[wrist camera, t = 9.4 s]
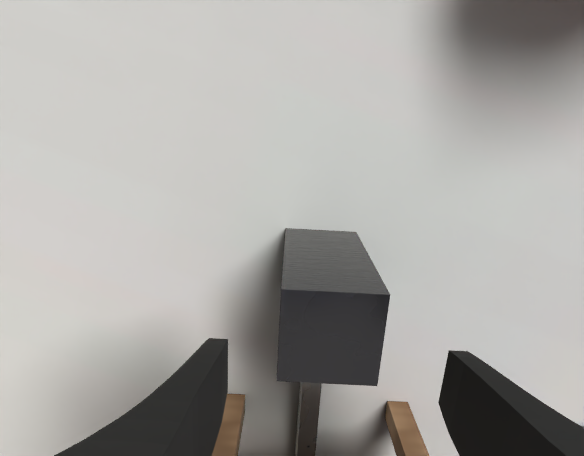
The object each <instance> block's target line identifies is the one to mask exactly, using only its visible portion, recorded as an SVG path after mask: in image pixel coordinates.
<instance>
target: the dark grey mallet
mask: <svg viewBox="0 0 584 456" xmlns="http://www.w3.org/2000/svg"><path fill="white" fill-rule="evenodd" d="M389 299H390V294H389V292H388V290H387V288H386V286H385V284H384V283H383V281H382V279H381V277H380V275H379V273H378V272H377V270H376V268H375V266H374V264H373V262H372V261H371V259H370V257H369V255H368V253H367V251H366V249H365V248H364V246H363V244H362V242H361V240H360V238H359V237H358V235H357V233H356V232H345V231H326V230H307V229H288V228H286V231H285V245H284V258H283V272H282V286H281V304H280V324H279V344H278V364H277V381H286V382H300V392H299V406H298V420H297V434H296V448H295V456H315V449H316V438H317V427H318V416H319V405H320V394H321V383H327V384H348V385H368V386H377V383H378V376H379V369H380V362H381V355H382V348H383V341H384V334H385V327H386V320H387V313H388V306H389Z"/></svg>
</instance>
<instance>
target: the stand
mask: <svg viewBox="0 0 584 456" xmlns="http://www.w3.org/2000/svg"><path fill="white" fill-rule="evenodd" d="M244 413H245V395H241V394H227V398H226V403H225V409H224V414H223V419H222V424H221V427H220V430H219V434H218V437H217V440H216V443H215V447H214V450H213V453H212V456H238V450H239V444H240V438H241V432H242V426H243V419H244ZM385 420H386V423H387V426H388V429H389V433H390V436H391V439H392V442H393V446H394V449H395V452H396V455H397V456H429V454H428V451H427V449H426V446H425V444H424V441H423V439H422V436H421V434H420V431H419V429H418V427H417V424H416V422H415V419H414V417H413V414H412V412H411V409H410V407H409V404H408V402H393V401H387V408H386V414H385Z"/></svg>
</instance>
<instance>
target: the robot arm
mask: <svg viewBox="0 0 584 456" xmlns="http://www.w3.org/2000/svg"><path fill="white" fill-rule="evenodd" d="M227 389H228V339H213V338H209V339H208V340H206V341H205V342H204V343H203V345H202V346H201V347H200V348H199V349H198V350H197V351H196V352H195V353H194V354H193V355H192V356H191V357H190V358H189V359H188V360H187V361H186V362H185V363H184V364H183V365H182V366H181V367H180V368H179V369H178V370H177V371H176V372H175V373H174V374H173V375H172V376H171V377H170V378H169V379H168V380H167V381H165V382H164V383H163V384H162V385H161V386H160V387H158V388H157V389H156V390H155V391H154V392H153V393H152V394H150V395H149V396H148V397H147V398H146V399H144V400H143V401H142V402H141V403H139V404H138V405H137V406H135V407H134V408H132V409H131V410H130V411H128V412H127V413H126V414H124V415H123V416H121V417H120V418H118V419H117V420H115V421H114V422H112V423H110V424H109V425H107V426H106V427H104V428H102V429H101V430H99V431H98V432H96V433H94V434H93V435H91V436H90V437H88V438H86V439H84V440H83V441H81V442H79V443H77V444H75V445H73V446H72V447H70V448H68V449H66V450H64V451H62V452H60V453H58V454H56V455H54V456H212V453H213V450H214V447H215V443H216V440H217V437H218V434H219V430H220V427H221V424H222V419H223V414H224V409H225V403H226V398H227ZM439 406H440V409H441V412H442V415H443V418H444V421H445V424H446V426H447V429H448V432H449V434H450V437H451V439H452V441H453V443H454V445H455V447H456V449H457V451H458V453H459V455H460V456H584V427H581V426H580V425H578V424H576V423H575V422H573V421H571V420H569V419H568V418H566V417H565V416H563V415H561V414H560V413H558V412H557V411H555V410H554V409H552V408H550V407H549V406H547V405H546V404H544V403H543V402H541V401H540V400H538V399H537V398H535V397H534V396H532V395H531V394H529V393H528V392H526V391H525V390H523V389H522V388H520V387H519V386H518V385H516V384H515V383H513V382H512V381H510V380H509V379H508V378H506V377H505V376H503V375H502V374H501V373H499V372H498V371H496V370H495V369H493V368H492V367H491V366H489V365H488V364H486V363H485V362H483V361H482V360H480V359H479V358H477V357H476V356H474V355H473V354H471V353H469V352H468V351H449V353H448V358H447V363H446V368H445V373H444V378H443V383H442V388H441V393H440V398H439Z"/></svg>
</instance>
